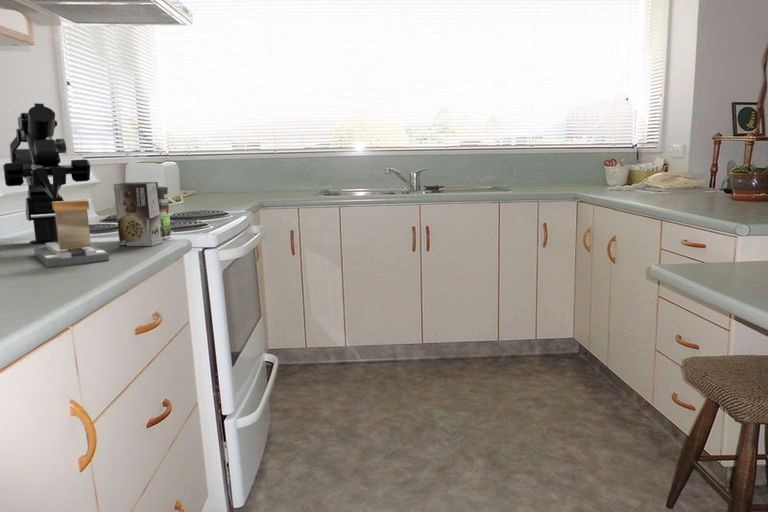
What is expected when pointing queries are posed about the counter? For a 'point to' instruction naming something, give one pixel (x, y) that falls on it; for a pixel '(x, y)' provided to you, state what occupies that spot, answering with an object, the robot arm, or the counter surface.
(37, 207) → the robot arm
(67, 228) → the block
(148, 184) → the grey printed cardboard box
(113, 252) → the counter surface
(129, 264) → the counter surface
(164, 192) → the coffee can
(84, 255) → the fader deck
